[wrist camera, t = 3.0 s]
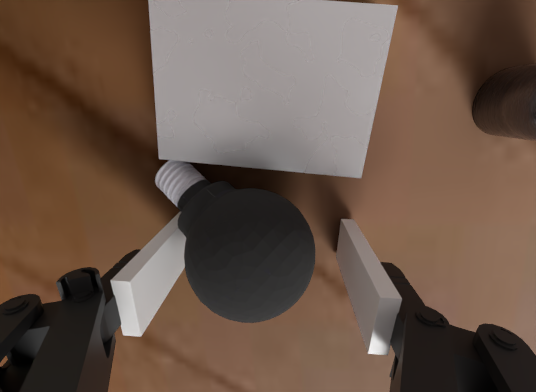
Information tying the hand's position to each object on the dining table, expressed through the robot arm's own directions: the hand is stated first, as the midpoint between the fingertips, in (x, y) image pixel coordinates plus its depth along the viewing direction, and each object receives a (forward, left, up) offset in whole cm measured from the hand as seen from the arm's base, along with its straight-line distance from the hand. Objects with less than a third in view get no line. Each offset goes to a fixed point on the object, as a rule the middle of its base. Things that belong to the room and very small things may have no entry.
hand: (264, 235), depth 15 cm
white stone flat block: (0, +8, -1) cm, 8 cm away
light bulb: (-2, +1, 0) cm, 2 cm away
